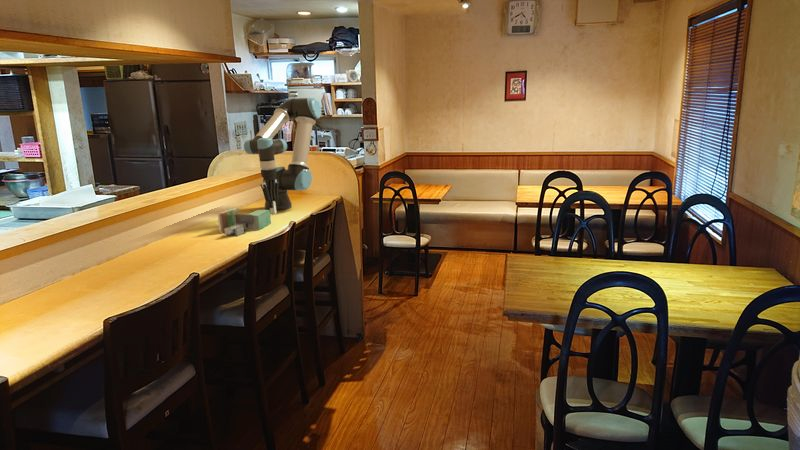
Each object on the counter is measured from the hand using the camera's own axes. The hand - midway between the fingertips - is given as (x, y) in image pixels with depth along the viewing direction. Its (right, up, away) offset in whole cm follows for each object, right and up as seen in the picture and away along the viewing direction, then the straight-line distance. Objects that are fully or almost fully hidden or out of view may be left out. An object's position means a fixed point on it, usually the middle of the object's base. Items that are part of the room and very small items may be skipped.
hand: (273, 213), depth 275 cm
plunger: (-13, -8, -25) cm, 29 cm away
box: (-4, -7, -13) cm, 16 cm away
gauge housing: (-12, -9, -20) cm, 25 cm away
